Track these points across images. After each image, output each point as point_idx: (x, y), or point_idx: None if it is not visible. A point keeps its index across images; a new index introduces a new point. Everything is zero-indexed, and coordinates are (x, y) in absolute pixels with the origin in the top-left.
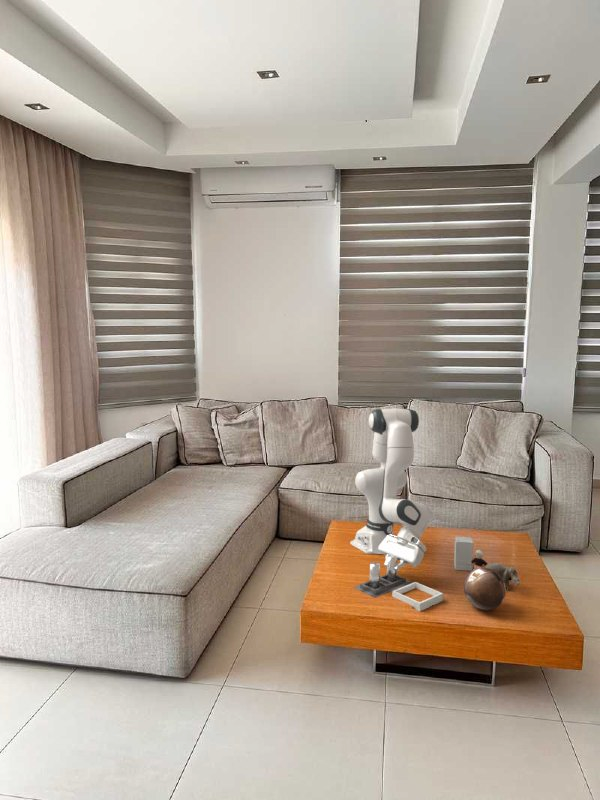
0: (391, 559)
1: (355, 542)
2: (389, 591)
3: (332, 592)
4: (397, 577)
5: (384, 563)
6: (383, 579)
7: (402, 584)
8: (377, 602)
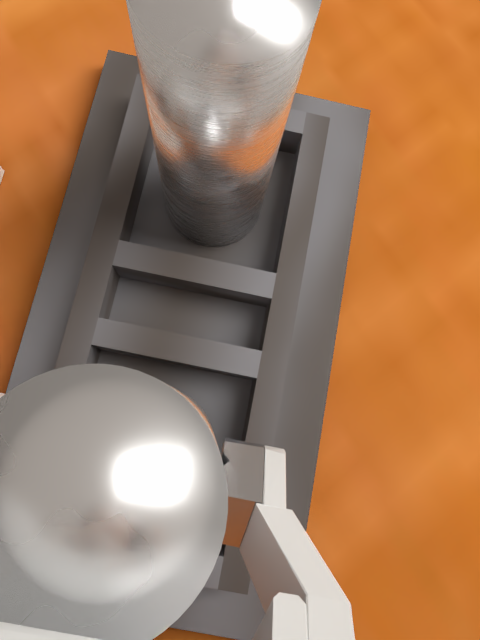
0: (45, 379)
1: None
2: (62, 226)
3: (449, 5)
4: None
5: (280, 457)
6: (212, 353)
7: None
8: (77, 50)
